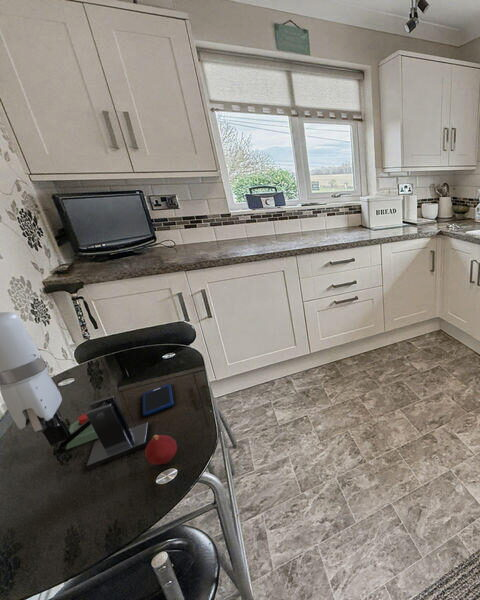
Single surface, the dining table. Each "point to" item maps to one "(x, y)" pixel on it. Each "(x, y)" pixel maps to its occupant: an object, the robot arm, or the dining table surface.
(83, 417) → the red button
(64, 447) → the press lever
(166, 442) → the onion
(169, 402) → the cell phone
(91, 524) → the dining table surface
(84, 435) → the button housing
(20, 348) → the robot arm
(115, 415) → the lever bracket
